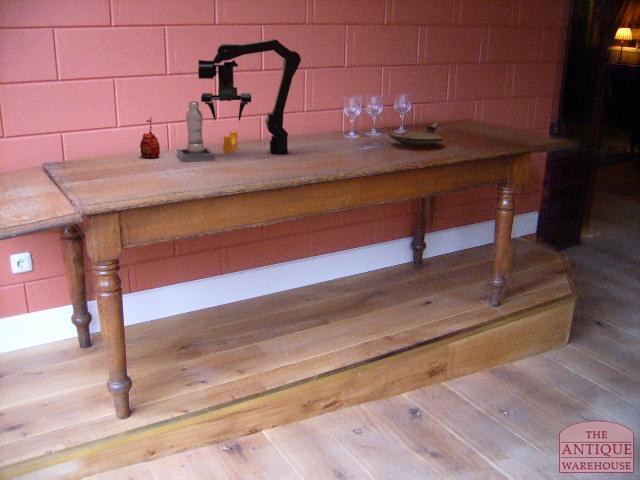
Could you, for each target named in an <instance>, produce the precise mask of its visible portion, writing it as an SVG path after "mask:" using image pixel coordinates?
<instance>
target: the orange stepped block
mask: <svg viewBox="0 0 640 480" xmlns="http://www.w3.org/2000/svg"><path fill="white" fill-rule="evenodd" d="M236 149H238V131H230V132H229V135H224V136H223V144H222V150H223V153H224V154H231V153H233V152H234V151H235V150H236ZM232 151H233V152H232Z"/></svg>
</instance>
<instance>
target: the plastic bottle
mask: <svg viewBox="0 0 640 480" xmlns="http://www.w3.org/2000/svg"><path fill="white" fill-rule="evenodd" d="M188 108H189V109H188V110H187V112H186V114H185V121H186V126H187V134H188V135H187V146H186V149H187V150H188V153H189V155H194V154H203V153H204V149H205V148H206V147H205V144H204V137H203V123H204V122H203V120H204V116H203V113H202V111H201V110H200V106H199V101H188Z"/></svg>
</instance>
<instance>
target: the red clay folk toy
mask: <svg viewBox="0 0 640 480" xmlns="http://www.w3.org/2000/svg"><path fill="white" fill-rule="evenodd" d="M152 118H153V116H150V118H149V119H146V121H145V122H146V123H149V125H150V126H149V131H148V133H146V132H145V133H143V135H142V139H141V141H140V144H139V148H140V157H142V158H148V159H156V158H158V157H159V156H160V154H161V148H160V142H159V140H158V137H157V136H156V135H155V133H153V132H152V127H153V126H152V120H153V119H152Z"/></svg>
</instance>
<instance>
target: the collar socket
mask: <svg viewBox="0 0 640 480" xmlns="http://www.w3.org/2000/svg"><path fill="white" fill-rule="evenodd" d="M204 148H205V149H204V153H203V154H194V155H189V153H188V150H187V148H183V149H182V148H181V149H176V156H177V157H178V159H179V160H180V161H181V162H182V163H186V162H189V163H190V162H205V161H206V162H207V161H215V156H216V155H215V153H214V152H213V151H212V150H211V149H210V148H209V147H204Z"/></svg>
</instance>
